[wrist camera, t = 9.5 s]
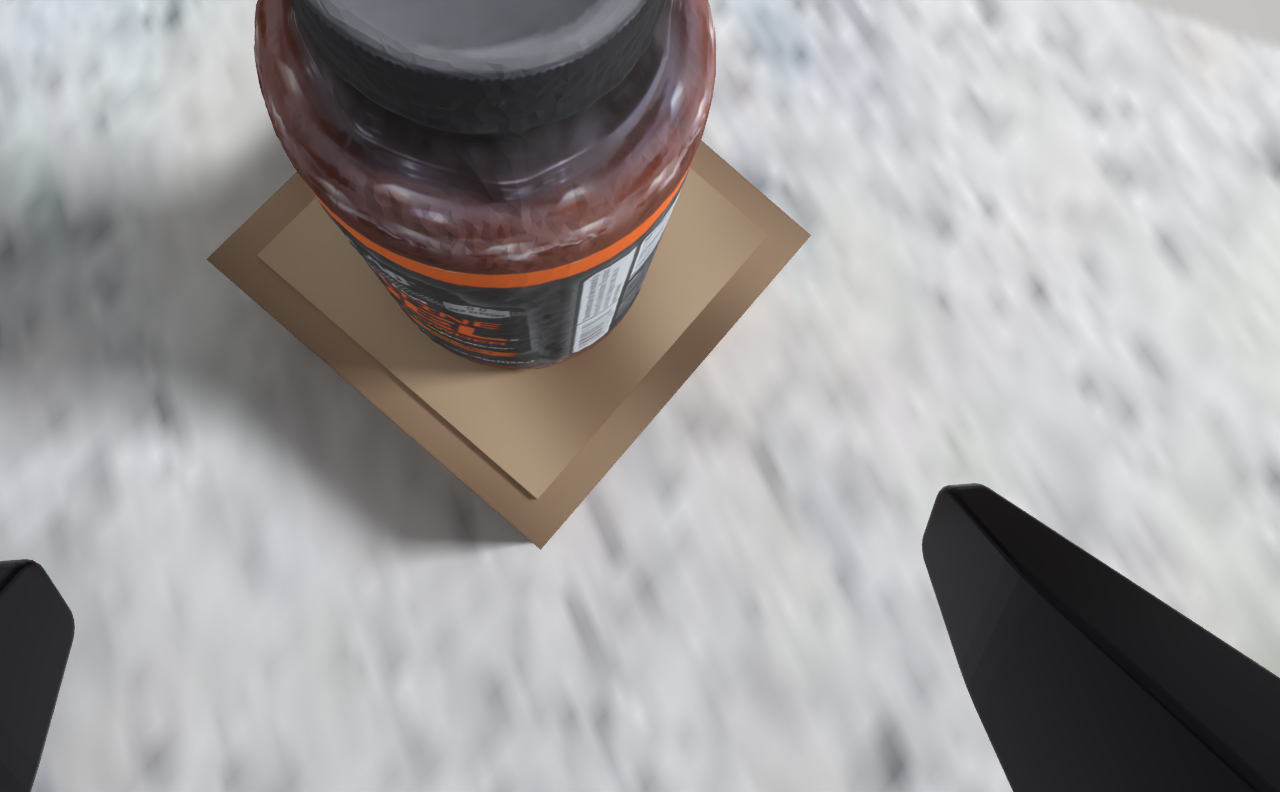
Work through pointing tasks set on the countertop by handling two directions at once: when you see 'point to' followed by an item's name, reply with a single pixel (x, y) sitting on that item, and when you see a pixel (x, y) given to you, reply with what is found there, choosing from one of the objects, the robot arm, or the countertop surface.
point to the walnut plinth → (528, 398)
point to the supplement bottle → (494, 152)
